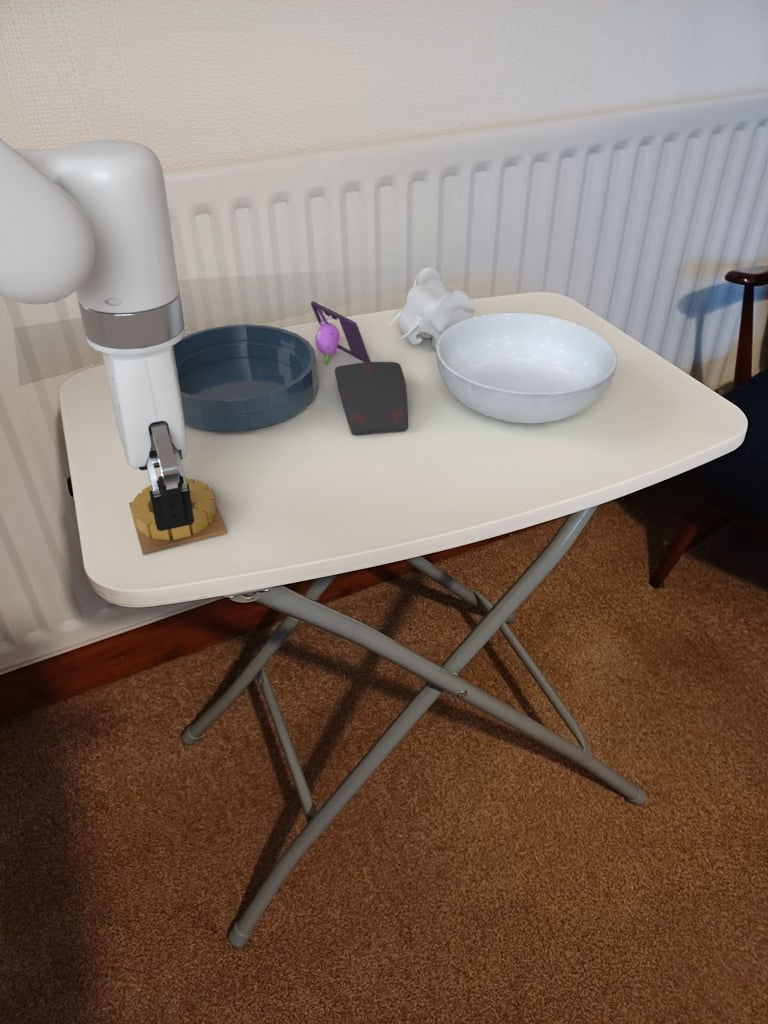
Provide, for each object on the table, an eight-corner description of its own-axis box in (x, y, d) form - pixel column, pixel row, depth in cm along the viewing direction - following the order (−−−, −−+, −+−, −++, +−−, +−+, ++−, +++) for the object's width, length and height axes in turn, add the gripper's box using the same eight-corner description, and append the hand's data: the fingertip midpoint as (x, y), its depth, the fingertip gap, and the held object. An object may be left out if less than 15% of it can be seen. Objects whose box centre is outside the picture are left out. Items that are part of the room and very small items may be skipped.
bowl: (177, 449, 87) (170, 414, 84) (148, 372, 101) (141, 340, 98) (339, 414, 93) (337, 380, 90) (290, 345, 107) (288, 314, 104)
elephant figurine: (380, 335, 109) (379, 273, 104) (457, 320, 113) (460, 259, 107) (408, 365, 102) (409, 300, 97) (489, 348, 106) (494, 285, 100)
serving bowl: (635, 438, 89) (648, 385, 84) (454, 455, 86) (458, 401, 82) (573, 353, 105) (581, 305, 100) (419, 365, 102) (420, 316, 98)
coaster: (142, 555, 73) (141, 551, 73) (129, 506, 79) (128, 502, 79) (226, 533, 76) (226, 529, 76) (208, 488, 82) (207, 484, 81)
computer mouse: (395, 374, 100) (395, 345, 98) (415, 431, 90) (415, 401, 87) (332, 379, 99) (331, 350, 97) (345, 437, 89) (344, 407, 86)
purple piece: (360, 319, 98) (316, 297, 103) (330, 344, 96) (287, 320, 101) (374, 359, 103) (331, 336, 108) (346, 383, 101) (304, 359, 107)
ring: (140, 548, 73) (137, 535, 72) (130, 500, 79) (126, 488, 78) (223, 528, 76) (220, 515, 75) (207, 483, 81) (204, 471, 80)
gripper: (72, 283, 66) (110, 453, 76) (96, 374, 53) (138, 563, 64) (162, 272, 68) (187, 439, 79) (206, 357, 56) (228, 542, 66)
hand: (165, 494), depth 71 cm, fingers open, 9 cm apart
